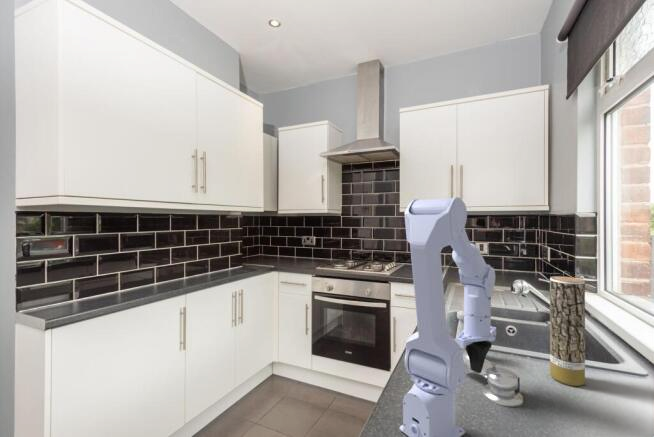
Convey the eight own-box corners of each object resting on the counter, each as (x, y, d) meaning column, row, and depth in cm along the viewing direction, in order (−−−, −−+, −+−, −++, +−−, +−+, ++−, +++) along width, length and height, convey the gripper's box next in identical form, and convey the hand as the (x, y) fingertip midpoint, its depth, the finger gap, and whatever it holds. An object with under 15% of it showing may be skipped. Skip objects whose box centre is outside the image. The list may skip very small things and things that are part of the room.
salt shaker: (477, 354, 91) (477, 310, 91) (475, 362, 86) (475, 315, 86) (455, 350, 94) (455, 307, 94) (452, 357, 89) (452, 312, 89)
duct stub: (512, 411, 64) (512, 394, 64) (475, 393, 71) (475, 378, 71) (531, 397, 69) (531, 381, 69) (494, 381, 76) (494, 367, 76)
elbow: (524, 389, 68) (523, 370, 68) (505, 395, 66) (505, 376, 66) (467, 360, 82) (467, 345, 82) (450, 365, 79) (450, 349, 79)
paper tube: (591, 389, 72) (591, 282, 72) (558, 386, 74) (558, 281, 73) (574, 374, 79) (574, 276, 79) (544, 371, 80) (544, 276, 80)
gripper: (477, 324, 66) (476, 388, 66) (509, 313, 74) (508, 369, 74) (447, 315, 72) (446, 374, 72) (480, 306, 80) (480, 358, 80)
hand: (476, 371), depth 73 cm, fingers closed, pressing on elbow
